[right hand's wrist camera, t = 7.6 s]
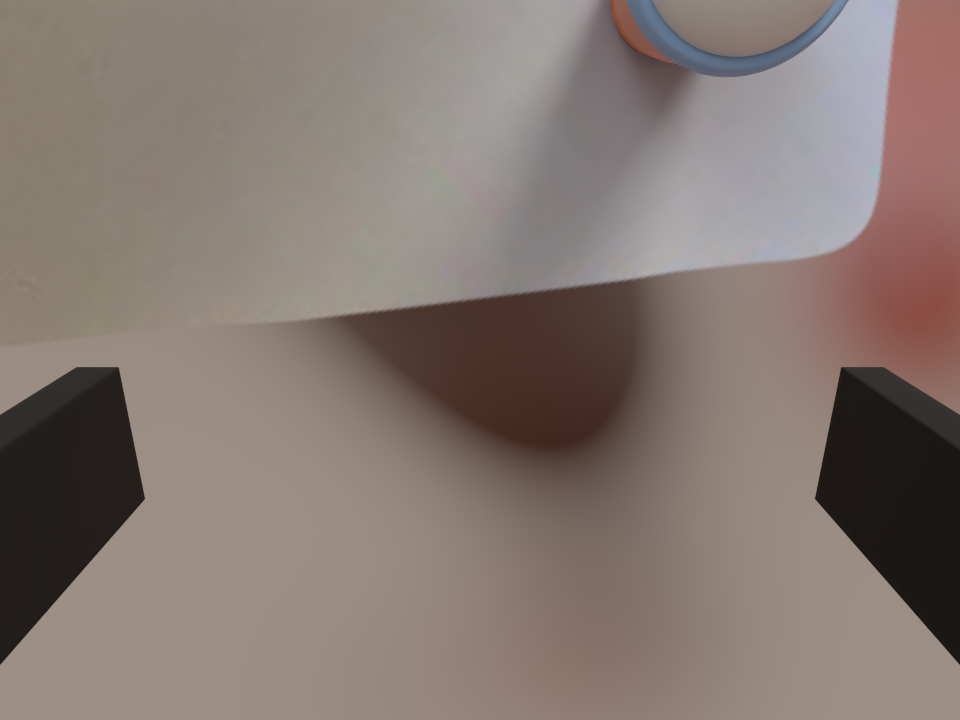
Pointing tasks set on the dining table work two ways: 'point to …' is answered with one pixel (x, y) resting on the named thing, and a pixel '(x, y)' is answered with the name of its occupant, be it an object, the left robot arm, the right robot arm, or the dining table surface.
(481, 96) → the dining table surface
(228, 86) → the dining table surface
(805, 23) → the cup with straw
